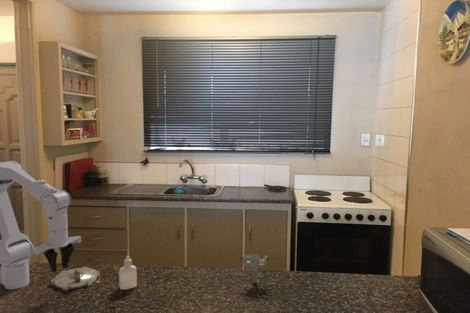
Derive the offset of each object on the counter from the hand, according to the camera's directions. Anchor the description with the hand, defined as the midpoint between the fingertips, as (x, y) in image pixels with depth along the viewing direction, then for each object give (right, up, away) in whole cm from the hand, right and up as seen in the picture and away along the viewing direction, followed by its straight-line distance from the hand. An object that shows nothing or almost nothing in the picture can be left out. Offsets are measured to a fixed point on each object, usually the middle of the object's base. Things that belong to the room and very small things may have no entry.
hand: (59, 269), depth 113 cm
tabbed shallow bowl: (+1, -7, +11) cm, 13 cm away
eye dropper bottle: (+21, -9, +6) cm, 24 cm away
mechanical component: (+65, -9, +13) cm, 67 cm away
